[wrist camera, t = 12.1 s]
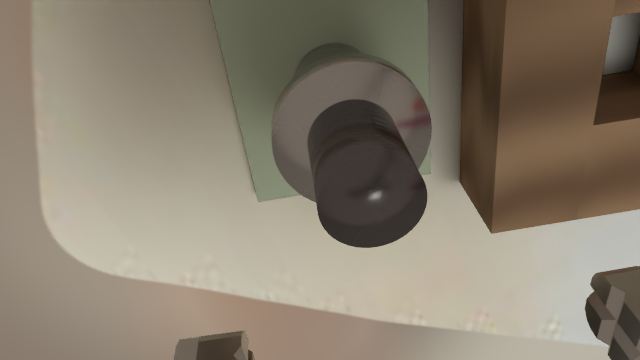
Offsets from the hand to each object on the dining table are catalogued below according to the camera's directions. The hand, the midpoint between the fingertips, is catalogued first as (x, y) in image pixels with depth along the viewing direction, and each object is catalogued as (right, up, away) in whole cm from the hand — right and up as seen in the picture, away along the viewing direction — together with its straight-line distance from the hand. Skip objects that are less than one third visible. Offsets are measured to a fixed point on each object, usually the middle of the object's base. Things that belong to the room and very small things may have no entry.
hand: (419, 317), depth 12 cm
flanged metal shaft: (-2, +8, +14) cm, 16 cm away
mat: (-2, +9, +14) cm, 17 cm away
